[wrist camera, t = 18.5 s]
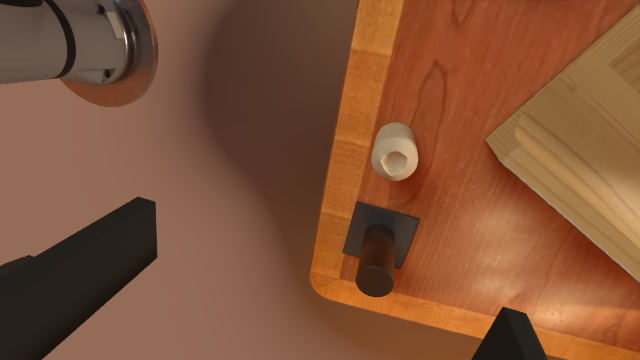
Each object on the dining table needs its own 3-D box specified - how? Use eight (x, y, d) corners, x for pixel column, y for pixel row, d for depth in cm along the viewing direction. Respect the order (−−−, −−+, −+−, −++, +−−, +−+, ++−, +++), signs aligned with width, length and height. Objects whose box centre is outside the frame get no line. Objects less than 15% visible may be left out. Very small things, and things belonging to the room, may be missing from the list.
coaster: (343, 250, 55) (342, 252, 55) (356, 200, 51) (356, 202, 51) (400, 267, 54) (400, 269, 54) (419, 217, 50) (419, 219, 49)
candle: (407, 163, 47) (409, 191, 38) (370, 152, 48) (364, 178, 39) (420, 127, 45) (426, 148, 36) (382, 117, 45) (378, 135, 36)
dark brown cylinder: (360, 245, 53) (351, 290, 44) (367, 220, 51) (360, 262, 42) (389, 253, 53) (387, 302, 43) (398, 229, 51) (398, 273, 41)
